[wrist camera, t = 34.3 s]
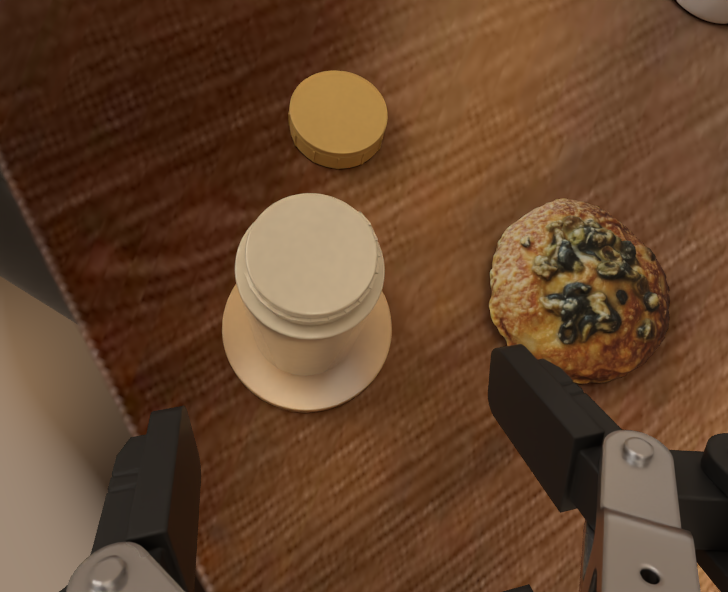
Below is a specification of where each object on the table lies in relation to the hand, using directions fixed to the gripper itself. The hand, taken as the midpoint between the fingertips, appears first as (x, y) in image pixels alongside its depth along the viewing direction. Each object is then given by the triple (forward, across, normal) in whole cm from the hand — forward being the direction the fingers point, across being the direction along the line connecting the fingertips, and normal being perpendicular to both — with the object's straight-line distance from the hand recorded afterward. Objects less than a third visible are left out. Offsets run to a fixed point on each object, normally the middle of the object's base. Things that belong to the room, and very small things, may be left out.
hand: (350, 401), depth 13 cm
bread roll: (+14, +16, -6) cm, 22 cm away
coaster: (+14, 0, -6) cm, 15 cm away
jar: (+13, 0, -5) cm, 14 cm away
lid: (+22, +4, +4) cm, 23 cm away
